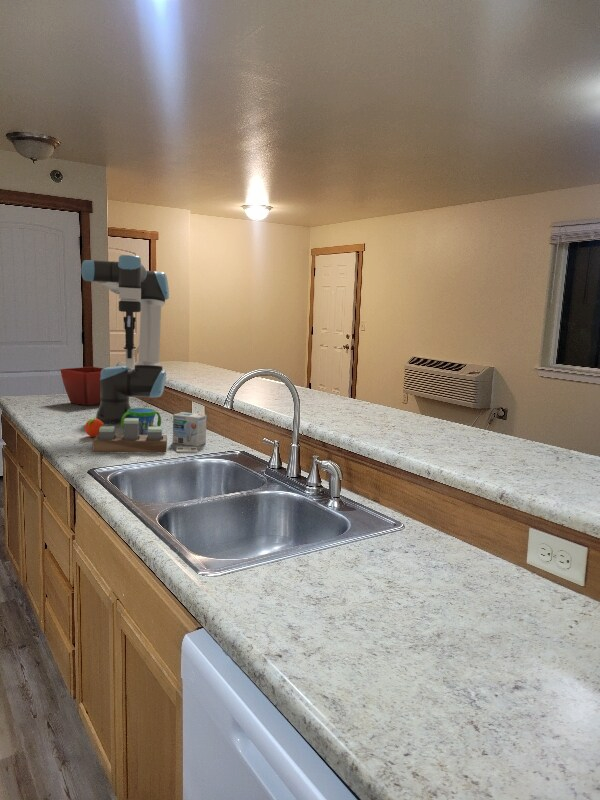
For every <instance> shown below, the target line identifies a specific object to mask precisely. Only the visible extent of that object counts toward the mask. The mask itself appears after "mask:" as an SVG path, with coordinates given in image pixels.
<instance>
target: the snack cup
mask: <svg viewBox="0 0 600 800" xmlns="http://www.w3.org/2000/svg"><path fill="white" fill-rule="evenodd" d="M127 415H128V418H139V435H148V427H154V422H155V421H154V419H155V417H156V415H157V417H158V419H157V423H156V425H157V427H161V426H162V425H161V424H162V419H161V418H162V416H161V414H160V413H159V412H158V411H156V409H153V408H149V407H148V408H146V407H139V408H138V407H137V408H135V407H134V408H131V409H128V410H127V412H126V413H124V415H123V416H122V419H121V423H120V426H121V429H122V430H124V419H125V417H126V416H127Z"/></svg>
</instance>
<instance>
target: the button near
mask: <svg viewBox="0 0 600 800" xmlns="http://www.w3.org/2000/svg"><path fill="white" fill-rule="evenodd" d="M115 435H116V426H111V425H109V426H107V425H104V426H101V427H100V429H99V439H115Z"/></svg>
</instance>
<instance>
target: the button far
mask: <svg viewBox="0 0 600 800" xmlns="http://www.w3.org/2000/svg"><path fill="white" fill-rule="evenodd" d="M162 435H163V426H153V427H148V440H162Z"/></svg>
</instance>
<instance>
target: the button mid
mask: <svg viewBox="0 0 600 800" xmlns="http://www.w3.org/2000/svg"><path fill="white" fill-rule="evenodd" d="M123 435H124V440H138V438H139V418H125V419H124V429H123Z"/></svg>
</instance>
